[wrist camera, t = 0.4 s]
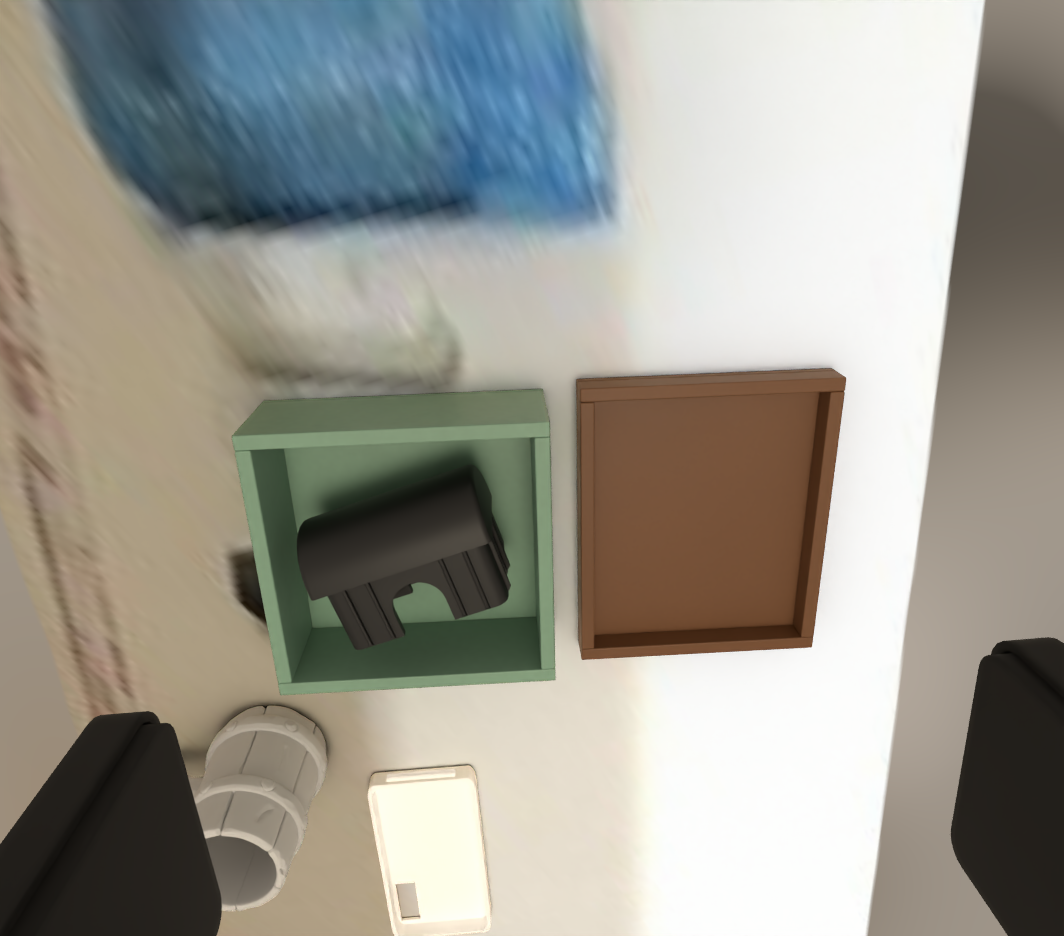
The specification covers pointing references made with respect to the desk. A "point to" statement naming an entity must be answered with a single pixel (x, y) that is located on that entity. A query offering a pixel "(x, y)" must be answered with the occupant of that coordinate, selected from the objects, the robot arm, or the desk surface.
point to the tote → (380, 466)
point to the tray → (703, 510)
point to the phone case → (432, 848)
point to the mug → (258, 800)
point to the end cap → (406, 553)
